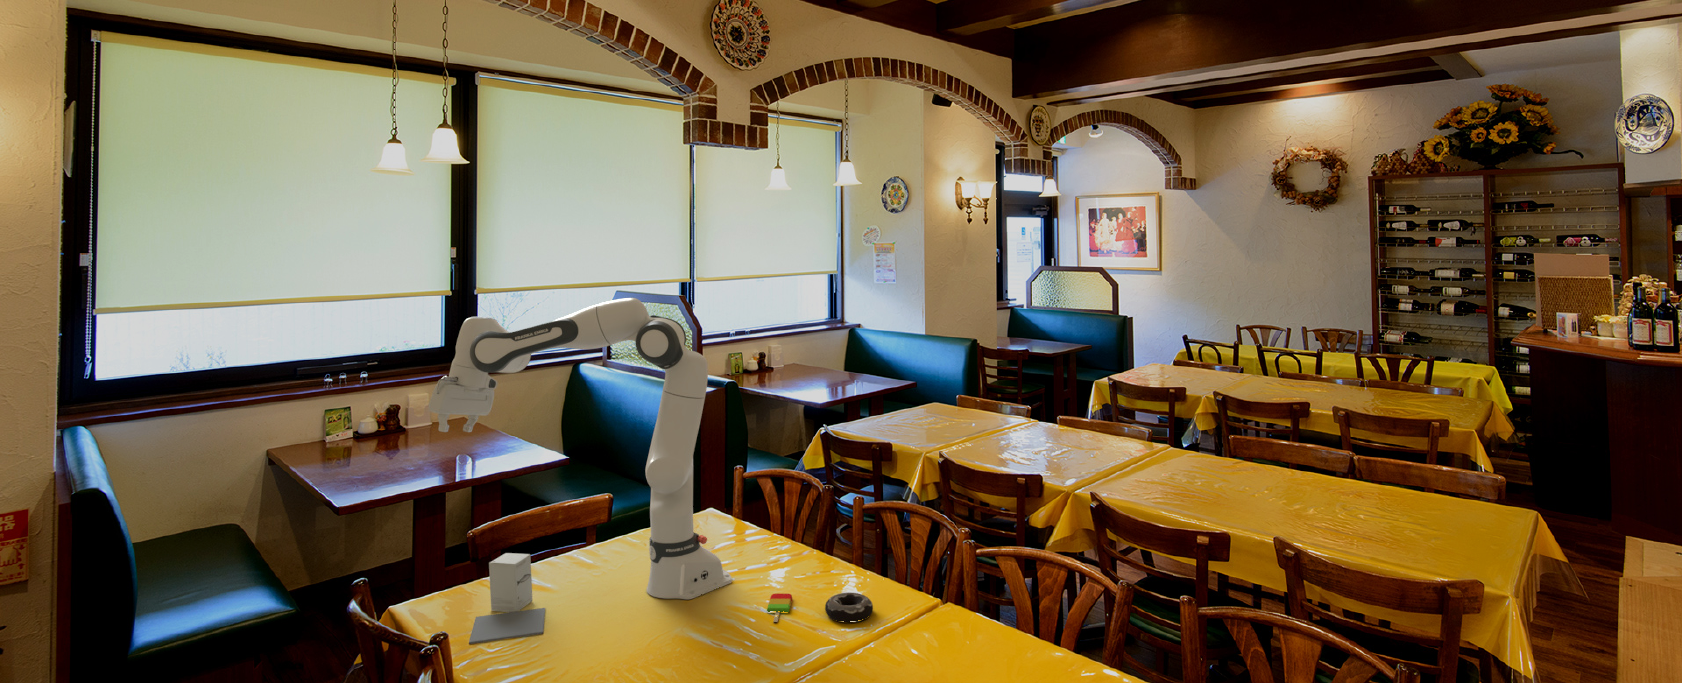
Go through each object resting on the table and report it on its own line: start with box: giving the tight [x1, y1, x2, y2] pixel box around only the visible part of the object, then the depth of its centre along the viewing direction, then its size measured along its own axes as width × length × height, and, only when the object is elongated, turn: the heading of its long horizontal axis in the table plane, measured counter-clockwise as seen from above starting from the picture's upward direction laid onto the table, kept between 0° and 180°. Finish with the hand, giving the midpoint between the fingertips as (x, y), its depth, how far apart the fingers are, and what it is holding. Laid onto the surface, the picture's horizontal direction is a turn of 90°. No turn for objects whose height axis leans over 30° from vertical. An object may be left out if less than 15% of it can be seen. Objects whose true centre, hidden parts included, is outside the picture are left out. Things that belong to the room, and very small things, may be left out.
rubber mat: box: [468, 607, 546, 645], centre depth 198 cm, size 14×16×1 cm
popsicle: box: [766, 593, 793, 623], centre depth 205 cm, size 6×15×2 cm, turn 178°
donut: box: [824, 592, 874, 622], centre depth 202 cm, size 12×12×4 cm
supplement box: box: [488, 552, 533, 613], centre depth 209 cm, size 7×7×13 cm
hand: (455, 431), depth 210 cm, fingers open, 8 cm apart
